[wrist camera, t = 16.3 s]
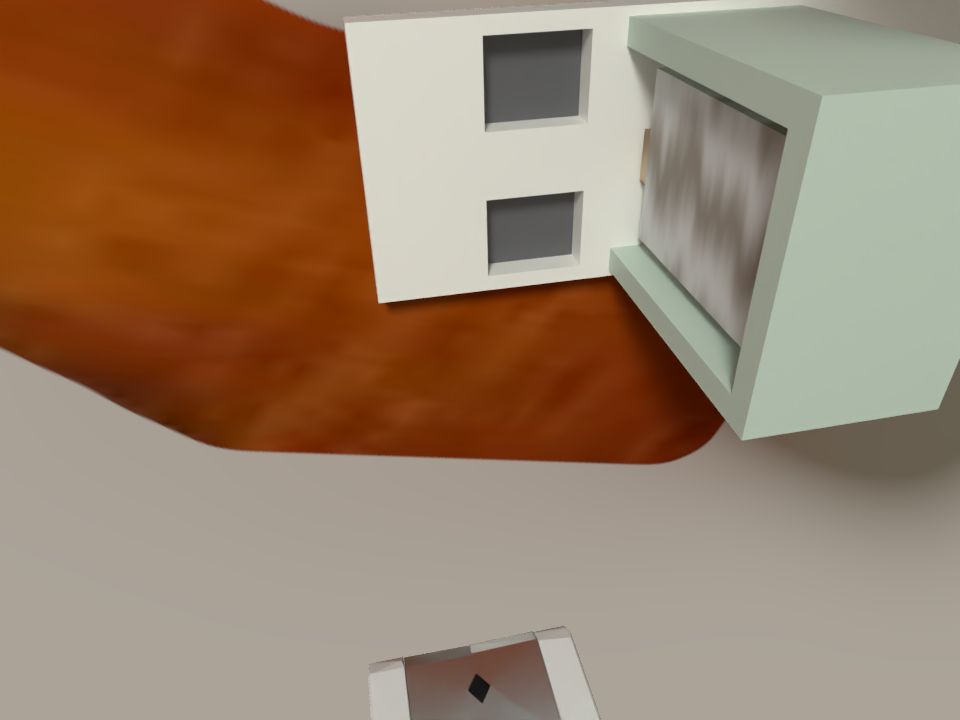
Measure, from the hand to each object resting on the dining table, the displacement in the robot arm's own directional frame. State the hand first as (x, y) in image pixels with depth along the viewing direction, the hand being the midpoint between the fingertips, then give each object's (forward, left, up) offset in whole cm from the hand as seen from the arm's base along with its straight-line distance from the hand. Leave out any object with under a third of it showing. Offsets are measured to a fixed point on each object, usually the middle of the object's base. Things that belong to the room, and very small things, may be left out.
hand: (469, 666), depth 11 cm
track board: (+4, +18, -35) cm, 40 cm away
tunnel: (+4, +20, -33) cm, 39 cm away
